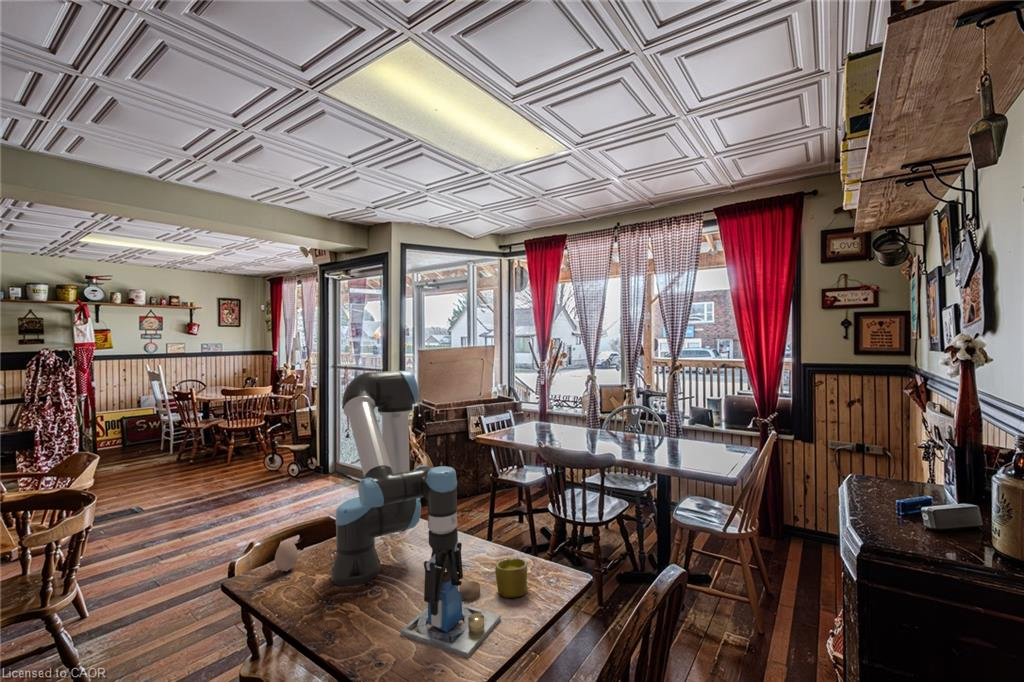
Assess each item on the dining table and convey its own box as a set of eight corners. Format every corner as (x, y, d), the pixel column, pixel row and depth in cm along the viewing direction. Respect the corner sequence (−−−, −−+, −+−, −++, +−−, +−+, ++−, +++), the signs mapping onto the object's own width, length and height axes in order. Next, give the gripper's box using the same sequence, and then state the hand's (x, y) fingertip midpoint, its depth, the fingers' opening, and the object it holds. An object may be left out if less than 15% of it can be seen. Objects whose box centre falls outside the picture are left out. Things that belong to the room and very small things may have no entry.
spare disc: (455, 597, 128) (455, 589, 128) (466, 587, 133) (466, 579, 133) (473, 602, 125) (472, 593, 125) (483, 592, 130) (483, 583, 130)
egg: (293, 563, 151) (293, 535, 151) (301, 570, 146) (300, 540, 146) (272, 571, 146) (271, 541, 146) (279, 578, 141) (278, 547, 141)
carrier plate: (400, 635, 111) (400, 618, 111) (438, 601, 126) (438, 586, 126) (467, 658, 102) (467, 639, 102) (500, 619, 116) (500, 603, 117)
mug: (529, 597, 123) (519, 559, 126) (496, 605, 125) (486, 568, 128) (539, 583, 135) (529, 549, 137) (508, 591, 137) (499, 557, 139)
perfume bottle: (446, 631, 111) (445, 583, 111) (428, 624, 114) (427, 577, 114) (462, 618, 116) (461, 572, 116) (444, 611, 119) (443, 566, 119)
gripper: (431, 546, 105) (434, 644, 104) (475, 517, 122) (477, 601, 122) (407, 540, 108) (409, 636, 108) (452, 513, 126) (454, 595, 125)
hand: (445, 617), depth 115 cm, fingers closed on perfume bottle, 6 cm apart
